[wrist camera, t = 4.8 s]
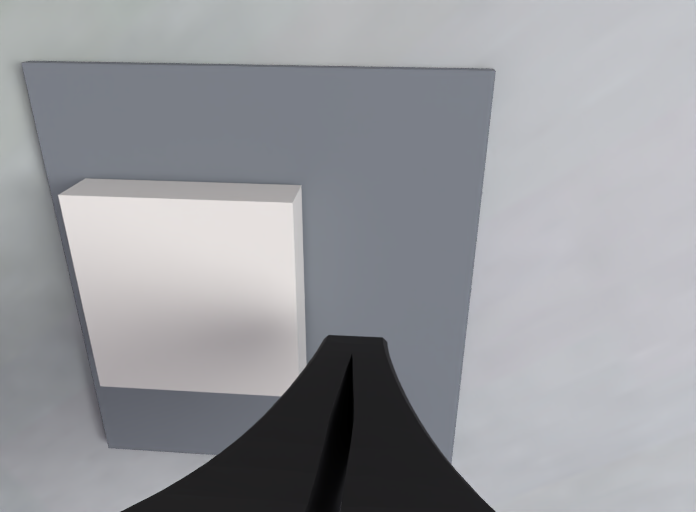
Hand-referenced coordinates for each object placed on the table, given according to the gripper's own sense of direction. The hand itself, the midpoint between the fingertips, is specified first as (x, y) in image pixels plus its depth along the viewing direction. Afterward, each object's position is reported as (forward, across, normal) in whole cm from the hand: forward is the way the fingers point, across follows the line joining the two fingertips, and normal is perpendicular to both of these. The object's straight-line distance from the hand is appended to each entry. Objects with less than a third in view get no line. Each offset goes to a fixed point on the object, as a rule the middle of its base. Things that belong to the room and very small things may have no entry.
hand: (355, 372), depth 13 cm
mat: (+4, +3, 0) cm, 5 cm away
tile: (+3, +2, 0) cm, 4 cm away
